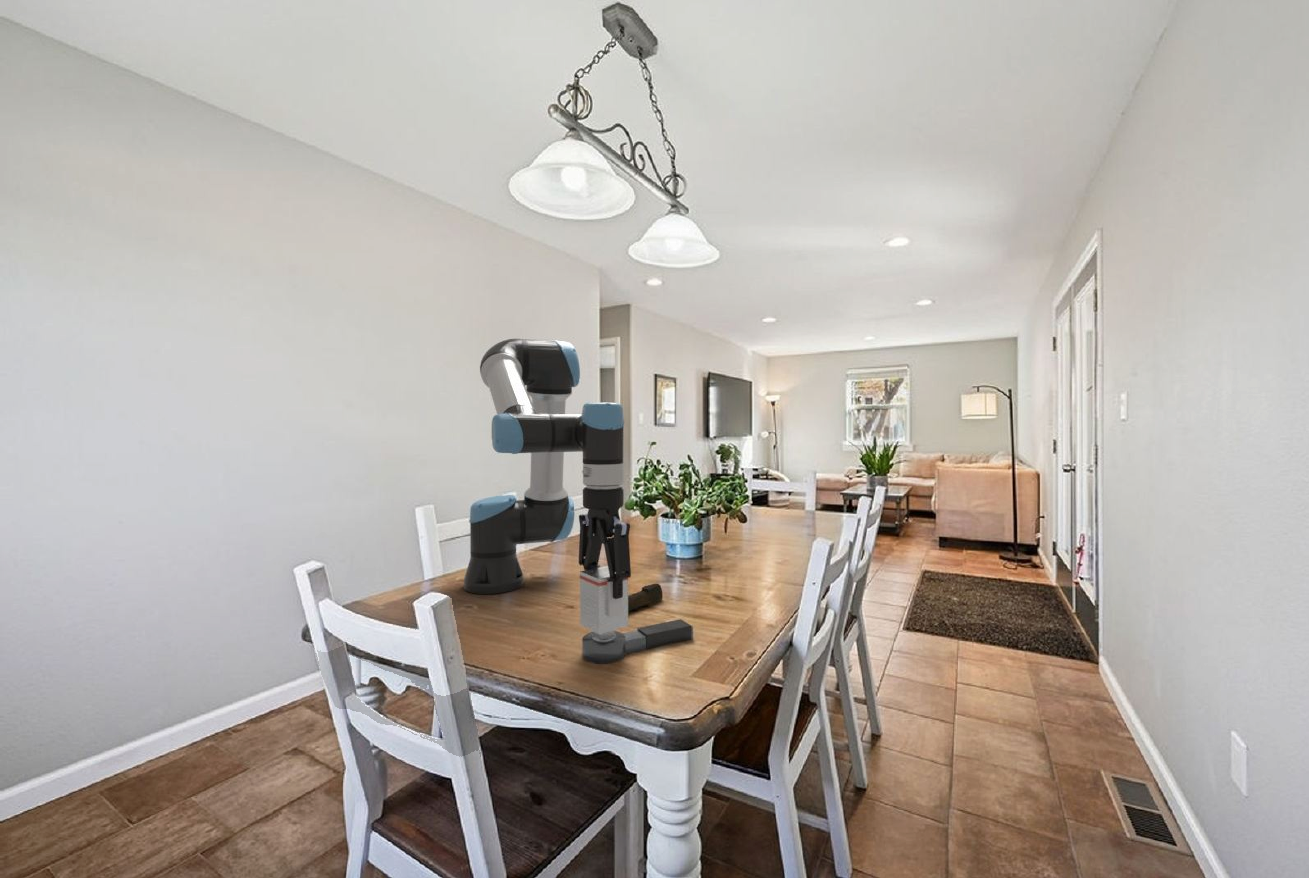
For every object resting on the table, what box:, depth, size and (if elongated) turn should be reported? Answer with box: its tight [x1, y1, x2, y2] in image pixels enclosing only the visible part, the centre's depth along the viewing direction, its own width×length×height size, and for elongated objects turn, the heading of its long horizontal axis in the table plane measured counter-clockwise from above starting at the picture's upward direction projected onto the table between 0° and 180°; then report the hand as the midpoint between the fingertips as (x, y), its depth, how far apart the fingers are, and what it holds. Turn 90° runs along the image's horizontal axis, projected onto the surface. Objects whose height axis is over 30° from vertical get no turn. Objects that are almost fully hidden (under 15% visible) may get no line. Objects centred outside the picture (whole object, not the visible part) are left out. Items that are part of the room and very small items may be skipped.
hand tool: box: [628, 583, 663, 612], centre depth 128 cm, size 19×4×5 cm, turn 134°
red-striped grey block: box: [579, 565, 629, 634], centre depth 103 cm, size 6×6×10 cm
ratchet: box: [581, 618, 694, 664], centre depth 107 cm, size 22×8×8 cm, turn 119°
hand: (603, 609), depth 103 cm, fingers closed on red-striped grey block, 6 cm apart
